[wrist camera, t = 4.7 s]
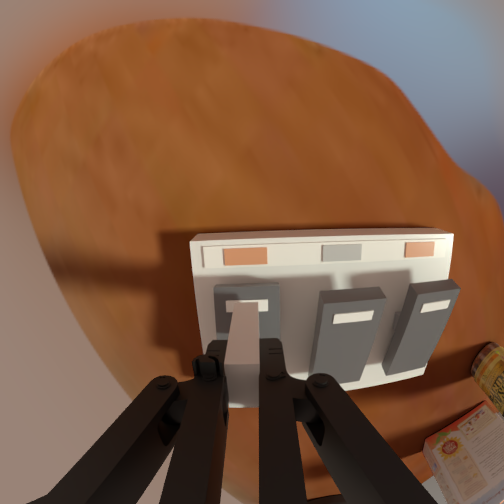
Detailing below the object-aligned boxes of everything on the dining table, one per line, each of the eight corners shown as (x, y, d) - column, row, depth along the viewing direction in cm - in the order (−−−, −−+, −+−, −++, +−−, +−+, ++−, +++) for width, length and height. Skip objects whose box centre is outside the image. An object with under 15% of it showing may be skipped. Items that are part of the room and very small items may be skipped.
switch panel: (411, 359, 26) (428, 380, 22) (214, 379, 26) (209, 406, 22) (435, 227, 22) (461, 236, 18) (197, 233, 22) (185, 245, 18)
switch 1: (279, 391, 20) (280, 401, 19) (224, 392, 20) (222, 402, 19) (277, 282, 20) (279, 285, 18) (216, 284, 20) (213, 287, 18)
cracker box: (421, 452, 32) (458, 533, 11) (424, 437, 30) (468, 526, 10) (480, 416, 30) (525, 483, 10) (486, 398, 29) (539, 468, 9)
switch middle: (355, 369, 22) (359, 381, 20) (307, 374, 22) (310, 387, 20) (379, 286, 18) (387, 298, 16) (319, 290, 18) (324, 304, 16)
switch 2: (419, 356, 22) (425, 367, 20) (381, 364, 22) (386, 376, 20) (451, 278, 17) (461, 289, 16) (409, 283, 18) (418, 295, 16)
